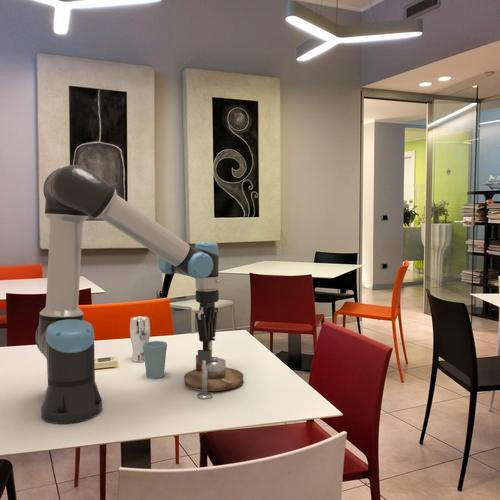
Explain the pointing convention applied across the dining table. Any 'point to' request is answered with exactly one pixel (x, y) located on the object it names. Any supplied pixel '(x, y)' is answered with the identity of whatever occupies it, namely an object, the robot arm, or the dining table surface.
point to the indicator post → (204, 373)
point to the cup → (155, 358)
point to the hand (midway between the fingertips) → (207, 360)
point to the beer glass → (139, 336)
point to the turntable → (227, 382)
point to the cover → (216, 368)
